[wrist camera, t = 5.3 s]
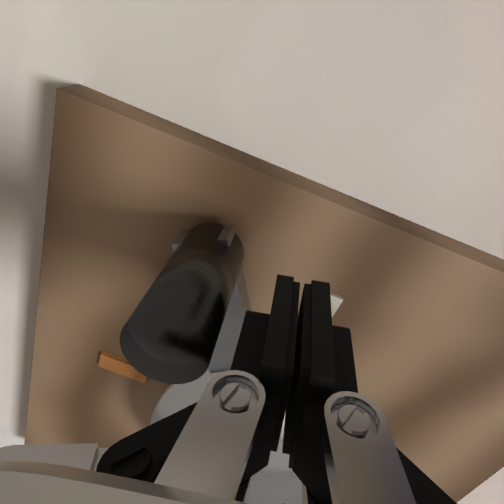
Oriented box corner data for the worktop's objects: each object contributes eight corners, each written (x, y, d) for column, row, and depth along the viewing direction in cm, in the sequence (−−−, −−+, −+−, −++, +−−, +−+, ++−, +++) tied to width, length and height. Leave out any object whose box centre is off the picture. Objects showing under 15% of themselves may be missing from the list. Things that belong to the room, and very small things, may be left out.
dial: (362, 484, 20) (379, 625, 15) (188, 477, 22) (153, 600, 17) (345, 204, 13) (365, 300, 8) (89, 232, 15) (-21, 322, 10)
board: (637, 315, 15) (672, 344, 14) (355, 553, 27) (357, 582, 26) (80, 84, 14) (53, 88, 13) (37, 438, 26) (21, 462, 24)
